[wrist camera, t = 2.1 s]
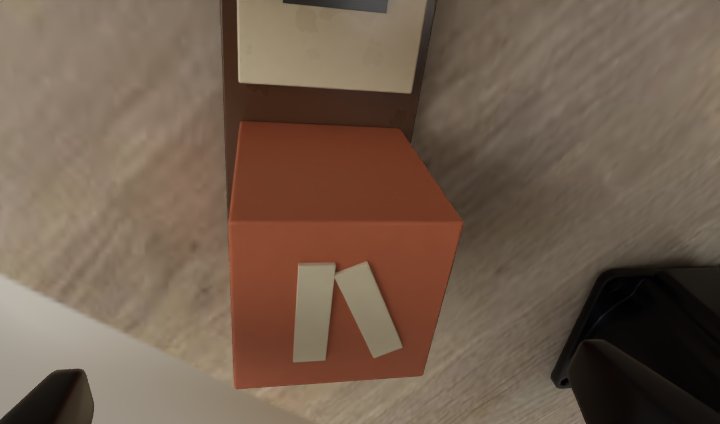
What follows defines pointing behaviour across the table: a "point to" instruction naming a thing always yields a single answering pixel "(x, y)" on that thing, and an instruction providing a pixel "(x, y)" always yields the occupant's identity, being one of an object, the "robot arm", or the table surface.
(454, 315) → the table surface
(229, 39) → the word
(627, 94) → the table surface
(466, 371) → the table surface
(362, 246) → the letter block
